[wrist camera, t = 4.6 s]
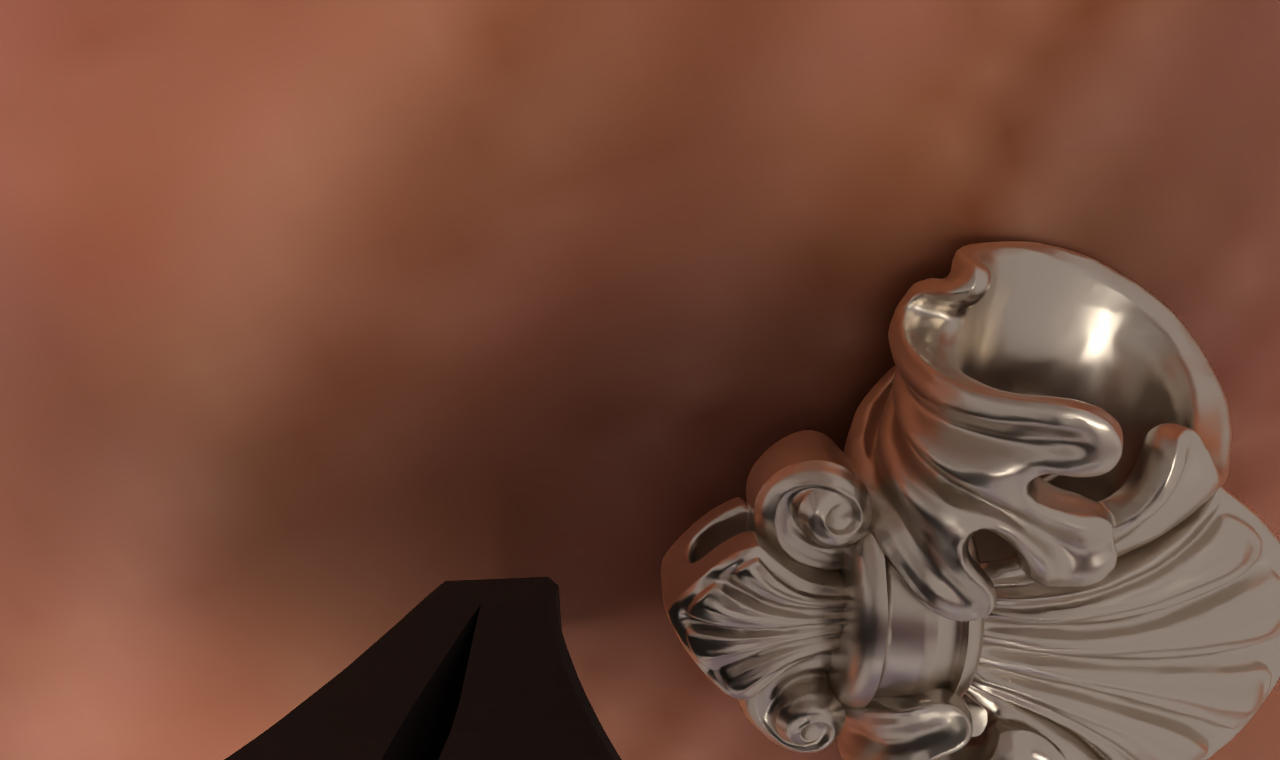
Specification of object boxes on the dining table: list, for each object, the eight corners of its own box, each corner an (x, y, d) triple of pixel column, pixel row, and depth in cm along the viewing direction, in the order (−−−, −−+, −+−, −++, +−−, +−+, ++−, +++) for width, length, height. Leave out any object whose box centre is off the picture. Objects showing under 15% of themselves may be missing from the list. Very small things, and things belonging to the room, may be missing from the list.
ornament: (671, 221, 10) (700, 259, 7) (1221, 246, 10) (1527, 295, 7) (642, 770, 12) (650, 1019, 9) (1097, 780, 13) (1283, 1027, 9)
